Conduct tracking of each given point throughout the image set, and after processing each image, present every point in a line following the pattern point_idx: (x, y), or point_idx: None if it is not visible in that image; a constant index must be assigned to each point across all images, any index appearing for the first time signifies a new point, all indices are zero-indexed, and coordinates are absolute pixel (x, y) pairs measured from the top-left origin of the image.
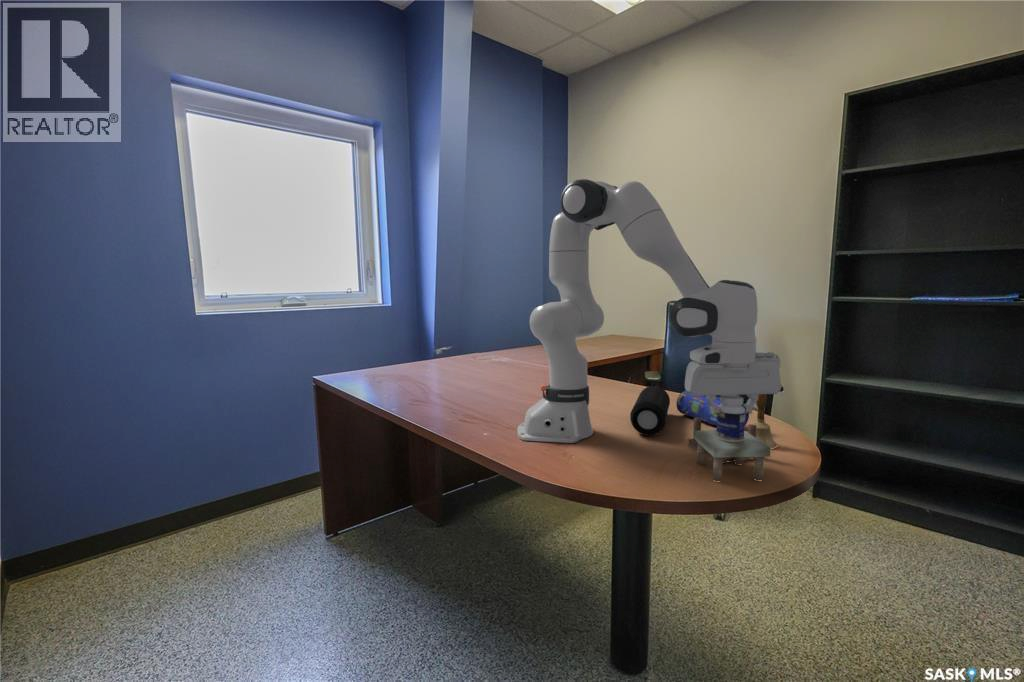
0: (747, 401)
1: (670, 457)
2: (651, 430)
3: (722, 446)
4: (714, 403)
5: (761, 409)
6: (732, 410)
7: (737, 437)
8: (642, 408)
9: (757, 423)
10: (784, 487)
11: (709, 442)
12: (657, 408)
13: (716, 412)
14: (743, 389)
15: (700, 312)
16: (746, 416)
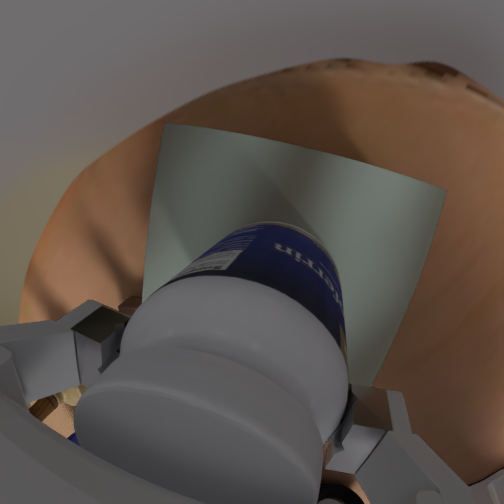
0: (57, 390)
1: (386, 382)
2: (330, 494)
3: (390, 201)
4: (415, 458)
5: (34, 412)
6: (288, 324)
7: (276, 225)
8: None
9: (66, 394)
10: (197, 98)
11: (410, 273)
12: None
13: (382, 392)
14: (2, 473)
15: None
16: (72, 439)
